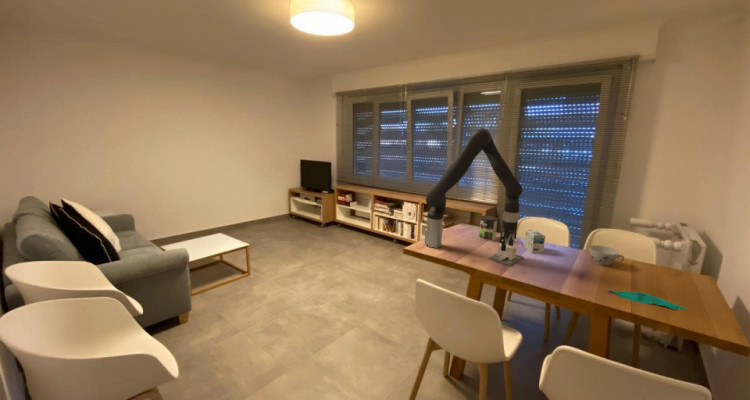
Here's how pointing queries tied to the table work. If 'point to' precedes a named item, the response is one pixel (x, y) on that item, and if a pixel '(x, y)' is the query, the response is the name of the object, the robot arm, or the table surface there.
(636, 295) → the cloth
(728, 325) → the table surface
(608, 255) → the teacup
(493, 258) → the mounting board
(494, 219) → the coffee can
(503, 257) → the metal rail
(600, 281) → the table surface
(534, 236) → the light bulb box
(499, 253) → the block
